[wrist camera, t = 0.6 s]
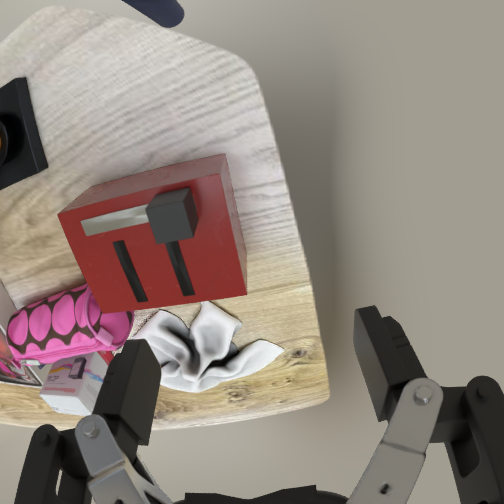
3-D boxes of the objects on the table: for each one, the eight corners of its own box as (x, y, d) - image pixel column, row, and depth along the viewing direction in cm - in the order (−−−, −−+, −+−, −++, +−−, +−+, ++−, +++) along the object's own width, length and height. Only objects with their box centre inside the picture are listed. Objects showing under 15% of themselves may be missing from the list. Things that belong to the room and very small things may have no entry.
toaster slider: (155, 194, 25) (144, 209, 22) (190, 186, 25) (183, 200, 22) (165, 227, 26) (156, 245, 23) (199, 220, 26) (193, 238, 23)
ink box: (101, 336, 44) (77, 396, 34) (116, 358, 46) (96, 416, 36) (62, 340, 45) (36, 393, 34) (77, 360, 47) (55, 413, 37)
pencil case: (54, 344, 45) (32, 387, 36) (19, 302, 41) (-10, 343, 32) (147, 314, 42) (129, 368, 33) (107, 258, 37) (76, 308, 28)
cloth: (168, 393, 51) (163, 422, 46) (112, 319, 42) (98, 349, 37) (292, 372, 48) (296, 402, 43) (260, 283, 39) (263, 315, 34)
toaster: (90, 186, 32) (56, 215, 25) (225, 153, 31) (219, 174, 24) (123, 273, 38) (102, 315, 31) (246, 253, 37) (247, 296, 30)
